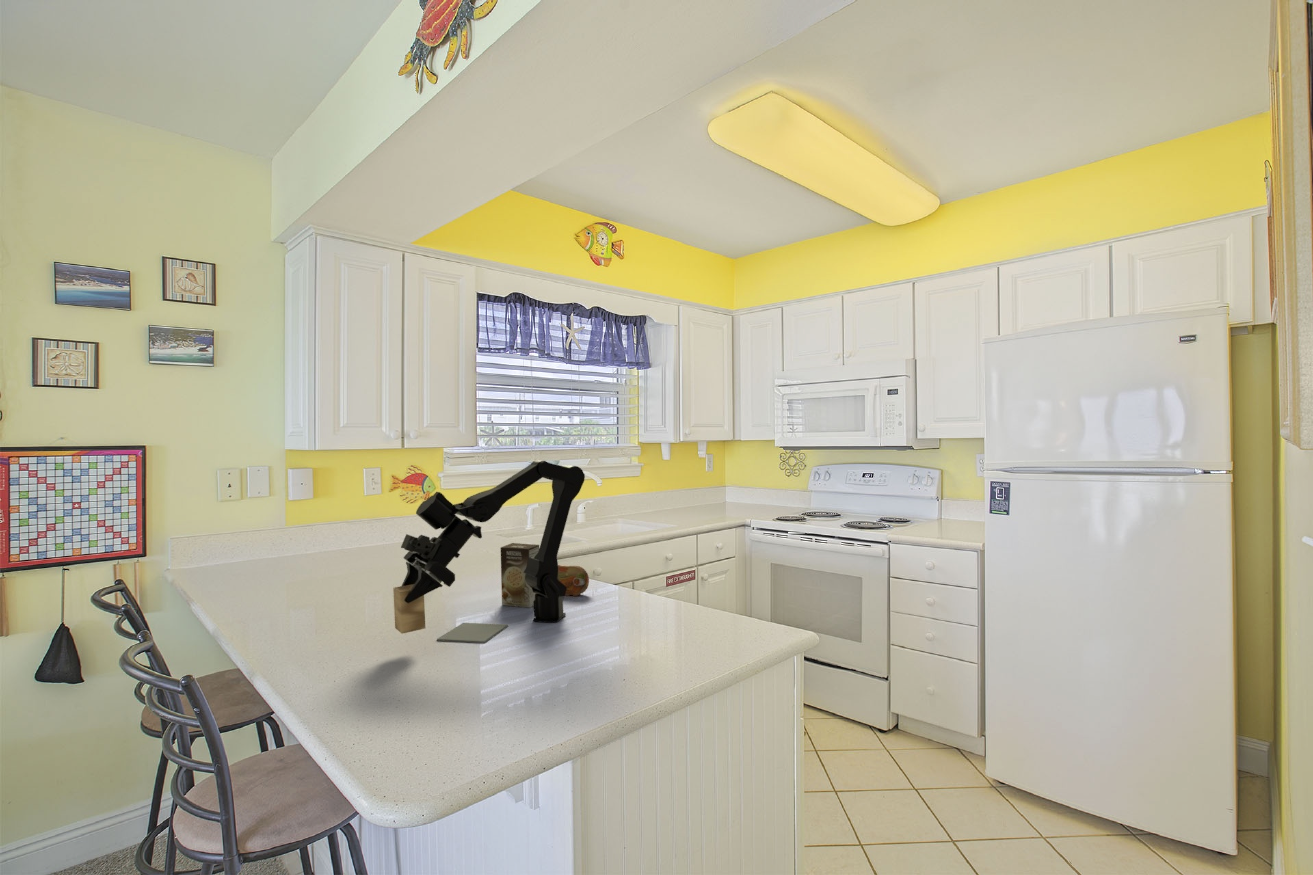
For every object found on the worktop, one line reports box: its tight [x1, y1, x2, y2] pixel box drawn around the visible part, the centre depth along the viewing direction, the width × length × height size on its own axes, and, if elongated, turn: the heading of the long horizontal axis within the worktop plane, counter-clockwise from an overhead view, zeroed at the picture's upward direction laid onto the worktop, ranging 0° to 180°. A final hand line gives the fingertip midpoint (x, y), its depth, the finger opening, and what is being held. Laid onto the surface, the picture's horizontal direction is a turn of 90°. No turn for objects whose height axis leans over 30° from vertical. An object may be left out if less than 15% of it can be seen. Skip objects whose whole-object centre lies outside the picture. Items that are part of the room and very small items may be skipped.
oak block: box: [393, 584, 426, 635], centre depth 140 cm, size 5×5×9 cm
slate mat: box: [436, 622, 509, 644], centre depth 152 cm, size 12×12×1 cm
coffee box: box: [500, 542, 540, 608], centre depth 176 cm, size 9×6×16 cm
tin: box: [558, 564, 590, 597], centre depth 184 cm, size 15×3×8 cm, turn 68°
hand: (402, 599), depth 139 cm, fingers closed on oak block, 5 cm apart
